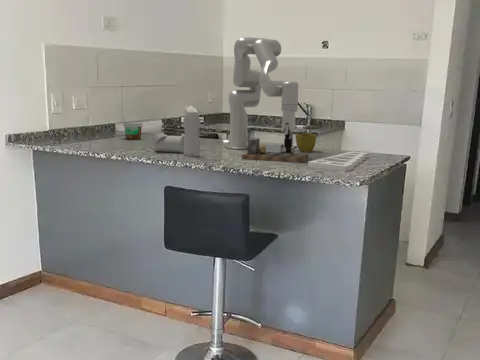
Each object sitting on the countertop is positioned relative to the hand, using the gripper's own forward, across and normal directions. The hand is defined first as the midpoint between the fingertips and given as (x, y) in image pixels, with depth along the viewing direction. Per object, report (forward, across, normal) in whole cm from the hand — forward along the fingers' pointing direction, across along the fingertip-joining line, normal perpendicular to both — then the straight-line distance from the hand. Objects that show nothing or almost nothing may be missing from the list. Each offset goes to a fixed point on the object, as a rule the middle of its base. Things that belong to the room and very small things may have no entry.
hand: (288, 146), depth 258 cm
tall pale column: (+6, +5, -47) cm, 48 cm away
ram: (+3, 0, -4) cm, 5 cm away
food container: (+6, -44, -104) cm, 113 cm away
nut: (+4, 0, -13) cm, 13 cm away
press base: (+6, 0, -6) cm, 9 cm away
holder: (+7, 0, +29) cm, 30 cm away
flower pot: (+6, -31, +4) cm, 32 cm away
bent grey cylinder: (+7, -7, -65) cm, 66 cm away
